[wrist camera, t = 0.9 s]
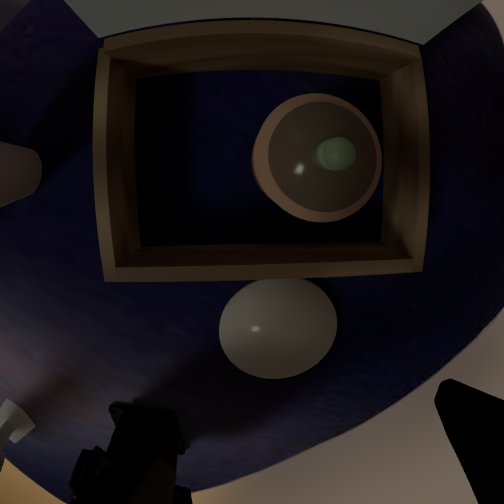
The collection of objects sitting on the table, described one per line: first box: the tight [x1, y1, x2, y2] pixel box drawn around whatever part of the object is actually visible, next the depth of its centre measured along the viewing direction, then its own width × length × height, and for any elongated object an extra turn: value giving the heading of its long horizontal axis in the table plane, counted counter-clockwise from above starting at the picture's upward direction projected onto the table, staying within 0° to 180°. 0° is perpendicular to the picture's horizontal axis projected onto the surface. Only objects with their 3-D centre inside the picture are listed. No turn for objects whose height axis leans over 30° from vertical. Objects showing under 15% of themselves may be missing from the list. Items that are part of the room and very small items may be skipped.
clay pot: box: [250, 93, 382, 222], centre depth 14 cm, size 6×6×9 cm
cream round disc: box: [219, 278, 337, 379], centre depth 21 cm, size 8×8×1 cm
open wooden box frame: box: [93, 17, 430, 282], centre depth 12 cm, size 16×18×12 cm
